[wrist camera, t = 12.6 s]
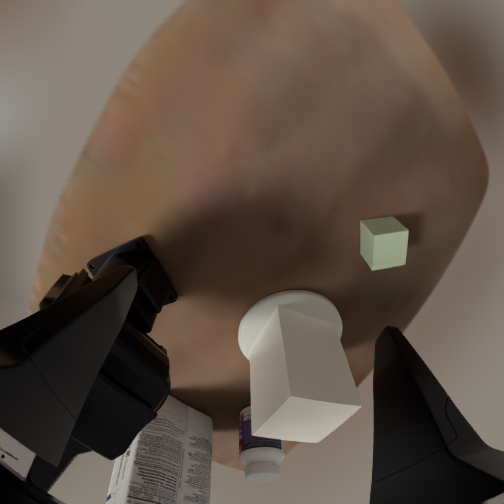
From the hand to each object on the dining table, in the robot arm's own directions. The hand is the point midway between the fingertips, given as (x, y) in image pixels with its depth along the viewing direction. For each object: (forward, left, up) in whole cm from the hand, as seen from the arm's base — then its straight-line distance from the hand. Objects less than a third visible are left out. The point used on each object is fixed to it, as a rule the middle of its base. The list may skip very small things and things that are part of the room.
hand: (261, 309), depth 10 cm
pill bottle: (-9, -27, -14) cm, 32 cm away
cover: (-1, -14, -13) cm, 19 cm away
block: (+9, -7, -13) cm, 17 cm away
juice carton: (-20, -23, -14) cm, 34 cm away
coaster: (-1, -14, -13) cm, 19 cm away
